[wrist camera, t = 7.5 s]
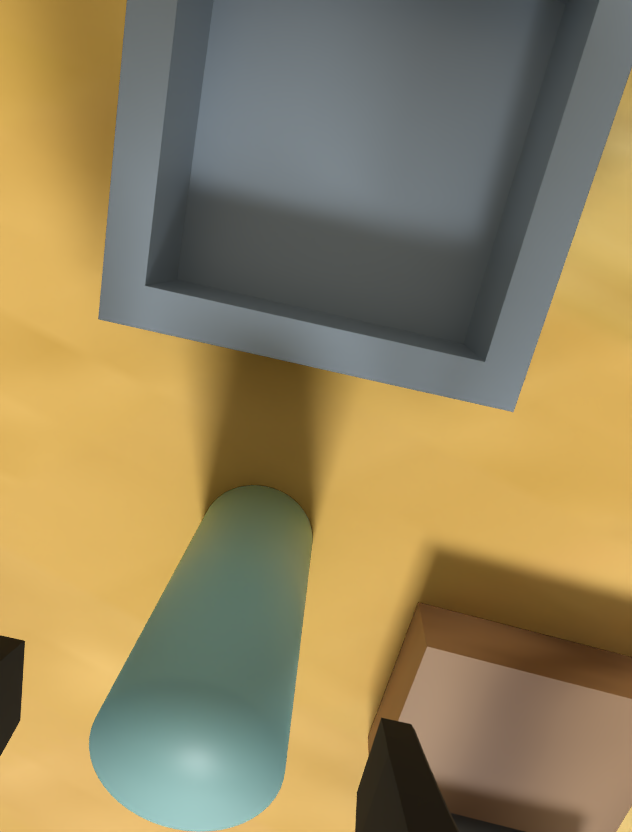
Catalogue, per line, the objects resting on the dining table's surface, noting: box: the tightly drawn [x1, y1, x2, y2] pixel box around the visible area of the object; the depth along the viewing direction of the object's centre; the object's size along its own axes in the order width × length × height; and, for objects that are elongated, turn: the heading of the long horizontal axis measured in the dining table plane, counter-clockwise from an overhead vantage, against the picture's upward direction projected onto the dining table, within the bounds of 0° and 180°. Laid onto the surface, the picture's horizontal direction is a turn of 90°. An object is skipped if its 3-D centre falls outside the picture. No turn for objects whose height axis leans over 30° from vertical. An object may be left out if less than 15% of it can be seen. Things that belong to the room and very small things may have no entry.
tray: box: [98, 0, 632, 412], centre depth 13 cm, size 10×10×3 cm
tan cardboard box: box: [368, 602, 632, 832], centre depth 18 cm, size 8×6×2 cm
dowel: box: [89, 485, 313, 832], centre depth 14 cm, size 4×4×8 cm
